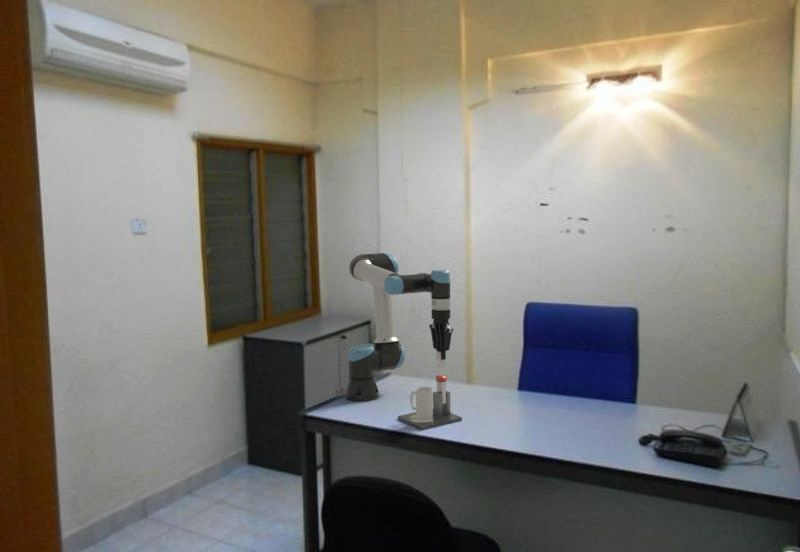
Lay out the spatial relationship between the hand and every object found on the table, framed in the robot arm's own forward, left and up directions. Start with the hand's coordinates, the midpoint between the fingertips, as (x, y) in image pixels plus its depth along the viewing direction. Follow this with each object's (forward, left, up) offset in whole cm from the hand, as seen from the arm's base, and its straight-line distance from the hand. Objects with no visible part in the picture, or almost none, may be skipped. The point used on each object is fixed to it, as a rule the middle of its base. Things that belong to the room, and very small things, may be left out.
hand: (441, 367), depth 242 cm
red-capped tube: (0, 0, -15) cm, 15 cm away
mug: (0, -10, -19) cm, 22 cm away
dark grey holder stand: (0, -6, -21) cm, 21 cm away
